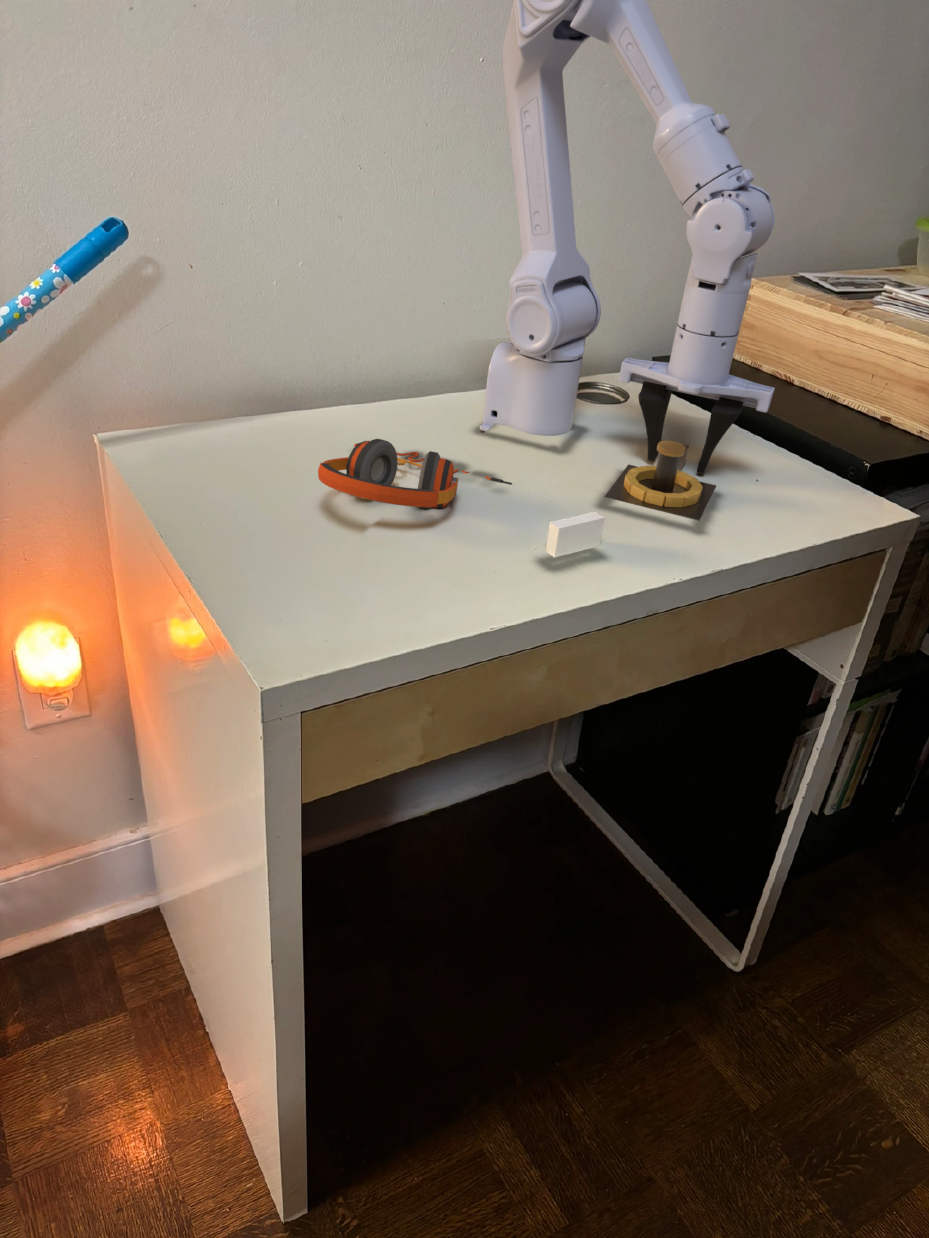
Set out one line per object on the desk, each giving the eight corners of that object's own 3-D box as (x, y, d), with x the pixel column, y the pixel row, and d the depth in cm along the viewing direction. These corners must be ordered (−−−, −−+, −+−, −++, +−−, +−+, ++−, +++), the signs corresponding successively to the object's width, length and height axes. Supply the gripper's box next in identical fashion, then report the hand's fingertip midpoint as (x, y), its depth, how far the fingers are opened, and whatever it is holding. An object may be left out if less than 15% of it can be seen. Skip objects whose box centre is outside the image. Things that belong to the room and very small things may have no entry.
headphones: (364, 466, 95) (265, 497, 77) (371, 415, 94) (271, 434, 76) (517, 504, 91) (451, 546, 73) (528, 451, 90) (463, 481, 71)
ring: (691, 514, 85) (696, 494, 84) (616, 495, 87) (619, 475, 86) (714, 470, 94) (718, 452, 93) (645, 454, 96) (649, 436, 95)
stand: (602, 506, 87) (612, 450, 84) (626, 473, 94) (636, 420, 91) (697, 530, 84) (711, 473, 81) (714, 494, 91) (727, 441, 88)
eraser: (543, 561, 77) (549, 521, 75) (588, 549, 79) (595, 511, 77) (552, 567, 76) (559, 528, 74) (597, 556, 78) (605, 517, 76)
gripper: (622, 323, 85) (597, 460, 92) (781, 354, 81) (742, 495, 88) (640, 307, 91) (615, 438, 98) (790, 336, 87) (753, 470, 94)
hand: (677, 463), depth 94 cm, fingers open, 4 cm apart
